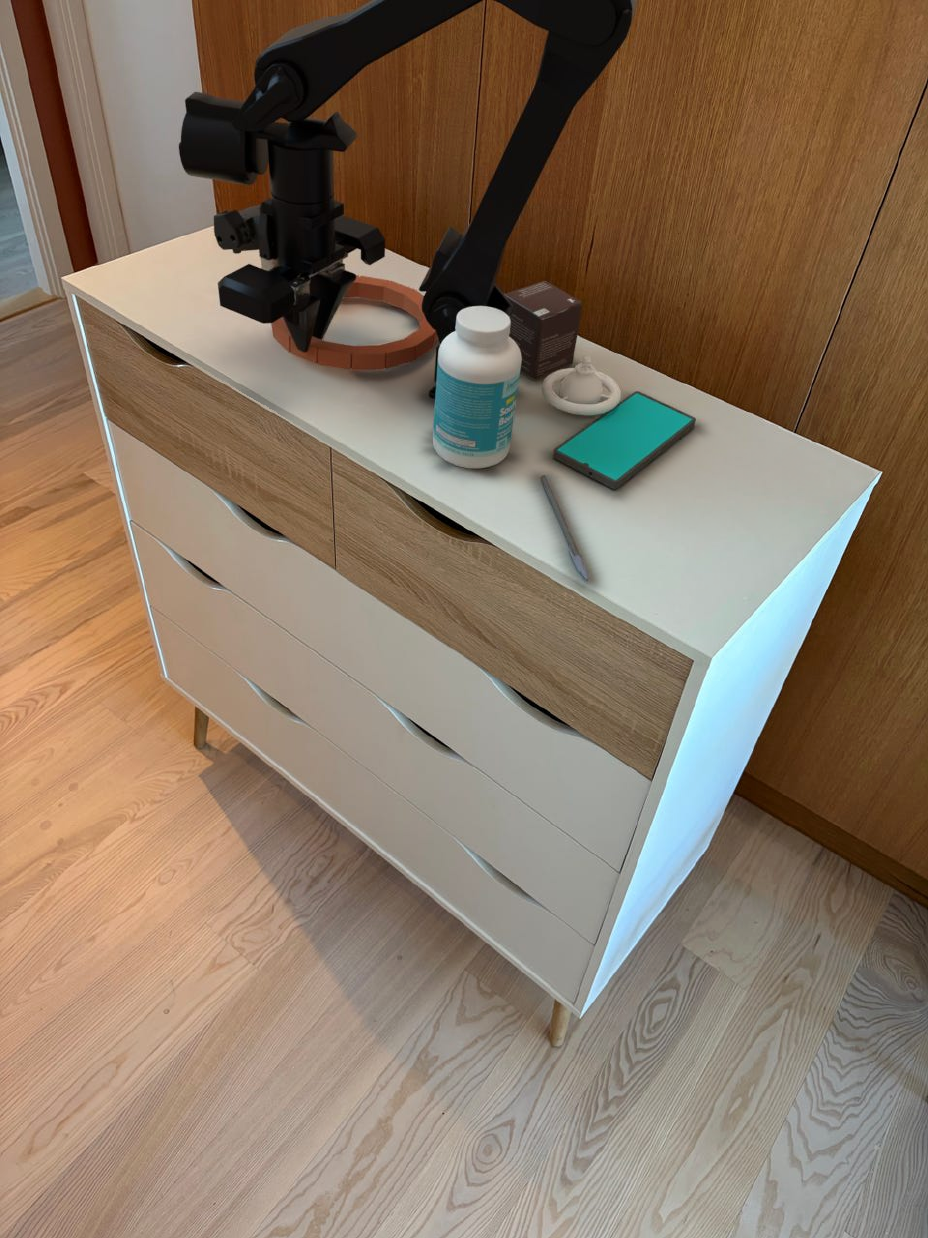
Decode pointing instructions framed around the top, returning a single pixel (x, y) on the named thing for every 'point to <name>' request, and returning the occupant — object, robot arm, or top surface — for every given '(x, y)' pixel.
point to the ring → (369, 354)
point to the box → (544, 327)
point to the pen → (565, 530)
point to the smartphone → (624, 439)
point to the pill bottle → (476, 389)
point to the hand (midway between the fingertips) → (309, 346)
